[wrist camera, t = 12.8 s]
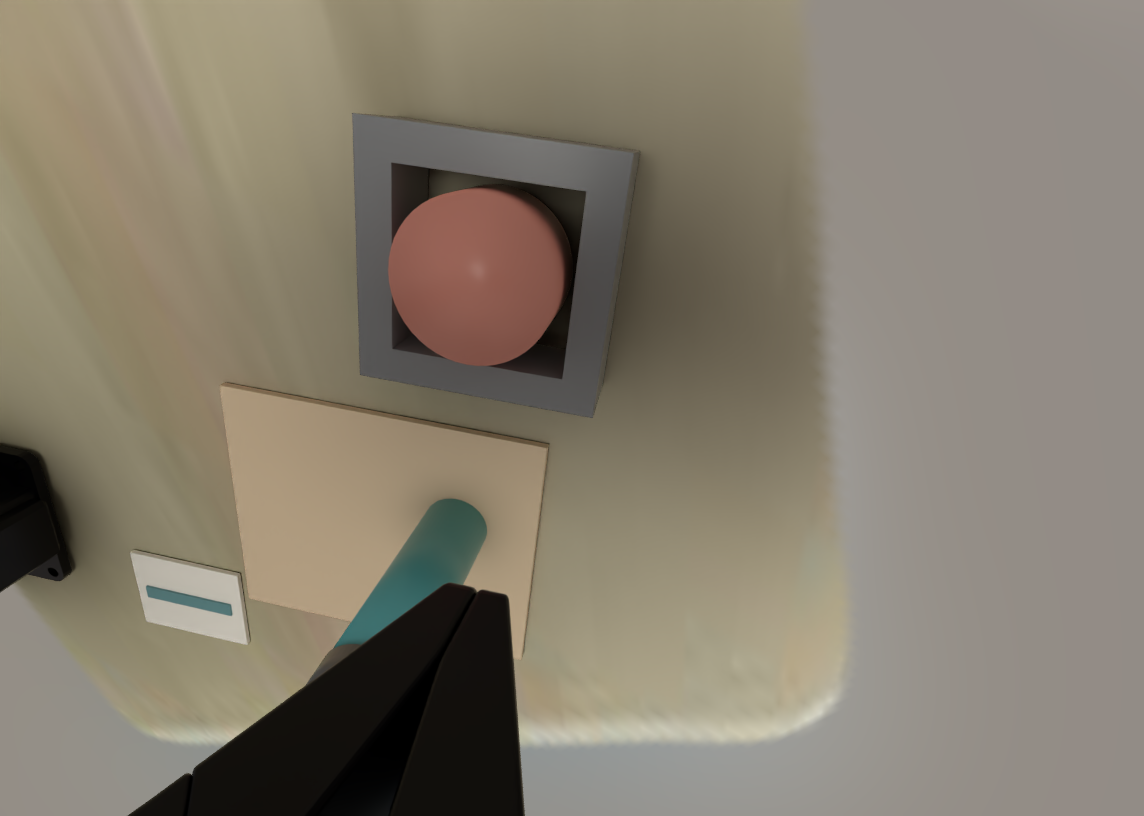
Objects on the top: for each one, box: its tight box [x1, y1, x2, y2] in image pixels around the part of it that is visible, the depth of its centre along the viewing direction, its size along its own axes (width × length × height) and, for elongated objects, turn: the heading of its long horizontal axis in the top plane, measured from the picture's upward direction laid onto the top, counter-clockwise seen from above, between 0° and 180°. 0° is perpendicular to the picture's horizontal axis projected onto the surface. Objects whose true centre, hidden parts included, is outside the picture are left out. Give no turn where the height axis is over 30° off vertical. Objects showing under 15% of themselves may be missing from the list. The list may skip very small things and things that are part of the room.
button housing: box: [352, 113, 640, 418], centre depth 17 cm, size 7×7×2 cm
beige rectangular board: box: [219, 382, 549, 660], centre depth 23 cm, size 12×10×1 cm
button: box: [388, 184, 573, 366], centre depth 16 cm, size 4×4×2 cm
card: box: [130, 550, 250, 645], centre depth 26 cm, size 5×4×1 cm
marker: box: [306, 499, 487, 685], centre depth 18 cm, size 2×2×8 cm
